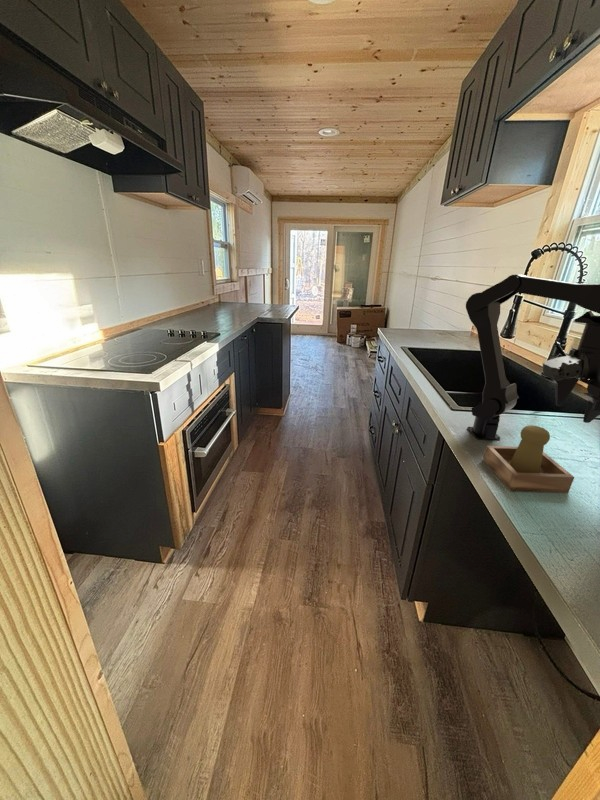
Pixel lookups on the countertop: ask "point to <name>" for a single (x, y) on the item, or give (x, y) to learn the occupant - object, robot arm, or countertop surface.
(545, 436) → the cork
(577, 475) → the countertop surface
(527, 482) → the box
